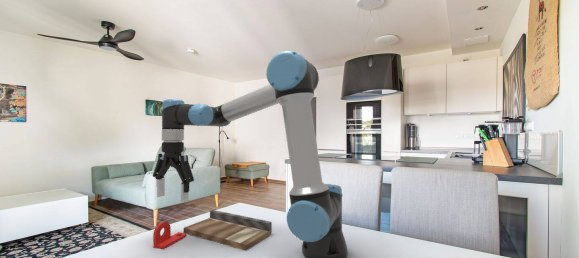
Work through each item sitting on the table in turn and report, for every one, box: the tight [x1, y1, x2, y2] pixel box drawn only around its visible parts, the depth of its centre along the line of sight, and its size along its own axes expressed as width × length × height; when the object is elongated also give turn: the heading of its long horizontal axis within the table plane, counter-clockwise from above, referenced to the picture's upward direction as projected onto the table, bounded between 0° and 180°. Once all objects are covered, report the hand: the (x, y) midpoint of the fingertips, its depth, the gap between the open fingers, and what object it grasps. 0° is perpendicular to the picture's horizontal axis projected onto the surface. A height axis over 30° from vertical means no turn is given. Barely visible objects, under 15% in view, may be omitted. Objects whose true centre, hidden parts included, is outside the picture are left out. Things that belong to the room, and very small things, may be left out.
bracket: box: [152, 221, 187, 250], centre depth 96 cm, size 12×4×8 cm, turn 161°
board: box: [183, 209, 273, 251], centre depth 104 cm, size 32×16×5 cm, turn 61°
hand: (172, 198), depth 96 cm, fingers open, 13 cm apart
